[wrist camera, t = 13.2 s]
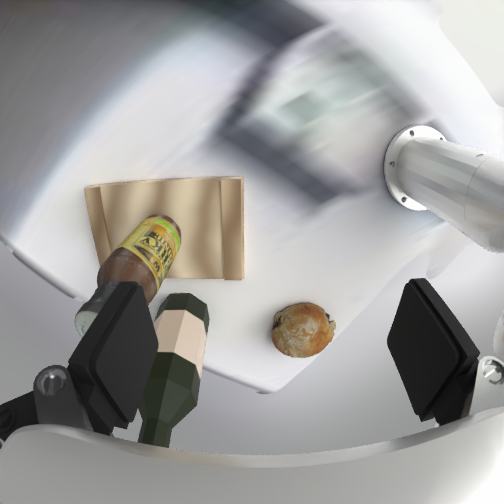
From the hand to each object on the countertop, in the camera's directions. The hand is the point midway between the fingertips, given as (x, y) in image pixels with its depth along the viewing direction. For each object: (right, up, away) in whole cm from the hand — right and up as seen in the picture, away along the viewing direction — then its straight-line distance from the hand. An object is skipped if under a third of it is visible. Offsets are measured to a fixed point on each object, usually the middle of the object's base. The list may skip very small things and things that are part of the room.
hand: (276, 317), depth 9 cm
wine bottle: (-12, -7, +35) cm, 38 cm away
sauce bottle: (-13, +5, +27) cm, 30 cm away
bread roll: (+8, -10, +36) cm, 38 cm away
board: (-13, +5, +28) cm, 31 cm away
